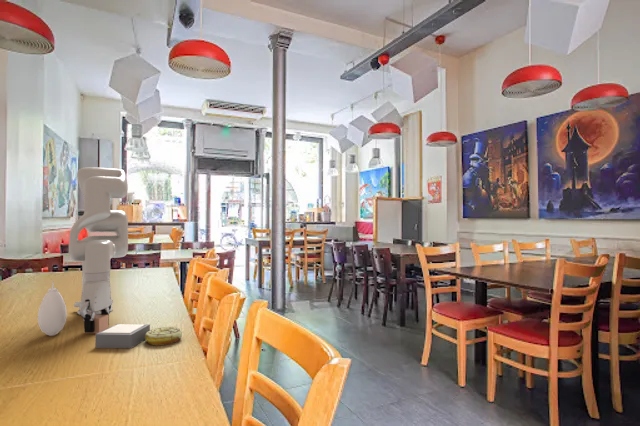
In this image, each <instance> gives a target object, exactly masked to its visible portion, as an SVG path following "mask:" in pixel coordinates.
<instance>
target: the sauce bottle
mask: <svg viewBox="0 0 640 426" xmlns="http://www.w3.org/2000/svg"><path fill="white" fill-rule="evenodd" d="M37 311H38V312H37V323H38V326H39V328H40V330H41V332H42V333H44V334H45V335H46V336H50V337H52V336H56V335H57V334H58V333H60V331H62V330H63V329H64V327H65V324H66V322H67V317H68V315H67V313H68V311H67V306H66V303H65V300H64V297H63V296H62V293H60V291H59V290H58V288H56V287H55V284H54V281H52V283H51V288H48V289H47V292H46V293H45V295H44V296H43V298H42V300H41V302H40V304H39V308H38V310H37Z"/></svg>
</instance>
